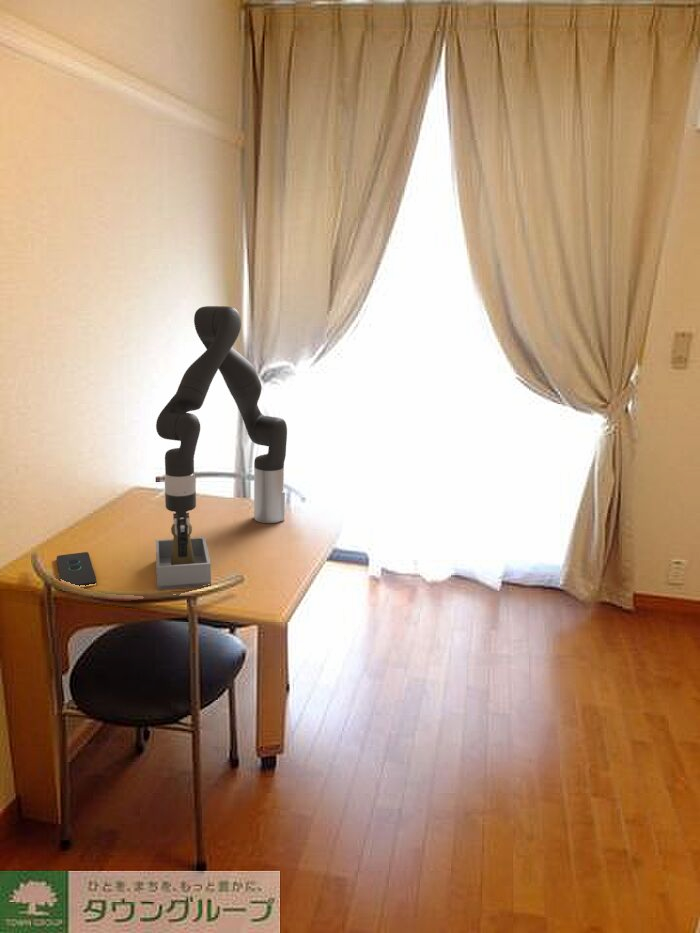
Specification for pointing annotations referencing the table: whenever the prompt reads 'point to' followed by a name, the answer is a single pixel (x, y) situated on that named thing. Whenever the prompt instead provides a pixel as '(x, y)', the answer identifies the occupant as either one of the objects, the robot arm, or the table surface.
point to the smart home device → (76, 568)
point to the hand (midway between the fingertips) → (182, 552)
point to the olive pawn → (175, 558)
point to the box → (182, 566)
